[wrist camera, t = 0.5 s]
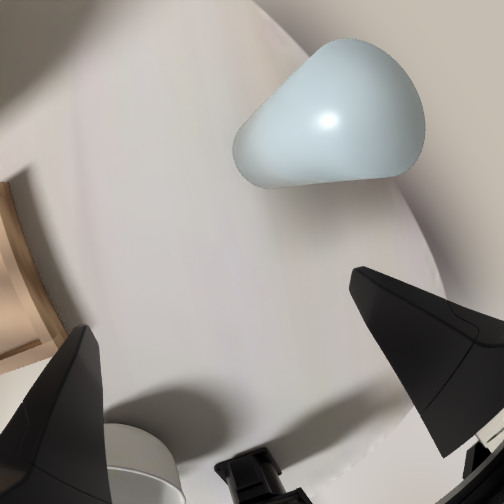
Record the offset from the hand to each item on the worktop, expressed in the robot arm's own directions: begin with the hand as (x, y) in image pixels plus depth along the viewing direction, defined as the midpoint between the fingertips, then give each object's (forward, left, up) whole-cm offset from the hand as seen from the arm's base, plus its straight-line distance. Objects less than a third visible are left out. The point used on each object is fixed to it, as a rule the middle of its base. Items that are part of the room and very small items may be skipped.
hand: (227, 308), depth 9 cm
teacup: (-17, +16, -14) cm, 27 cm away
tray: (+4, +19, -13) cm, 24 cm away
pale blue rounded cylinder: (+5, -8, -13) cm, 16 cm away
